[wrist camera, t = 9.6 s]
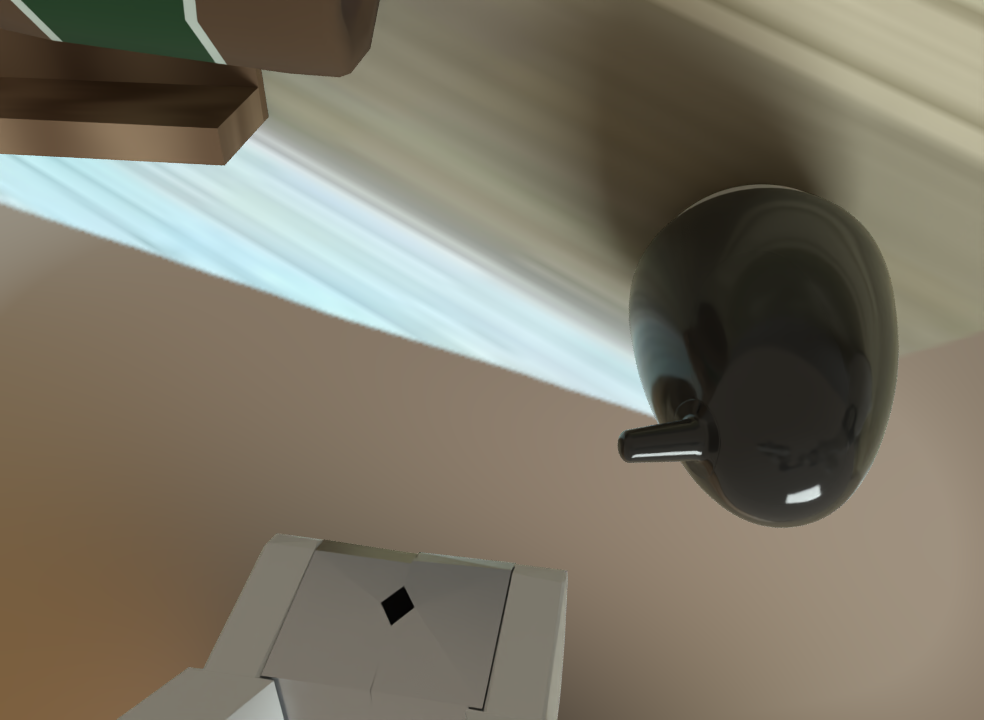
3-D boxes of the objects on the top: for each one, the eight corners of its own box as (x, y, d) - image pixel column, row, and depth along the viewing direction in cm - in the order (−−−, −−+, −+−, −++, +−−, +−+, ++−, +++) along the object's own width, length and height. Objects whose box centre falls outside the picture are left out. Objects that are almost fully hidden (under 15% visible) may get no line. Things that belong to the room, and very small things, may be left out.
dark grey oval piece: (651, 130, 38) (650, 338, 26) (907, 170, 37) (1029, 401, 25) (607, 332, 44) (589, 578, 32) (826, 369, 43) (893, 633, 31)
